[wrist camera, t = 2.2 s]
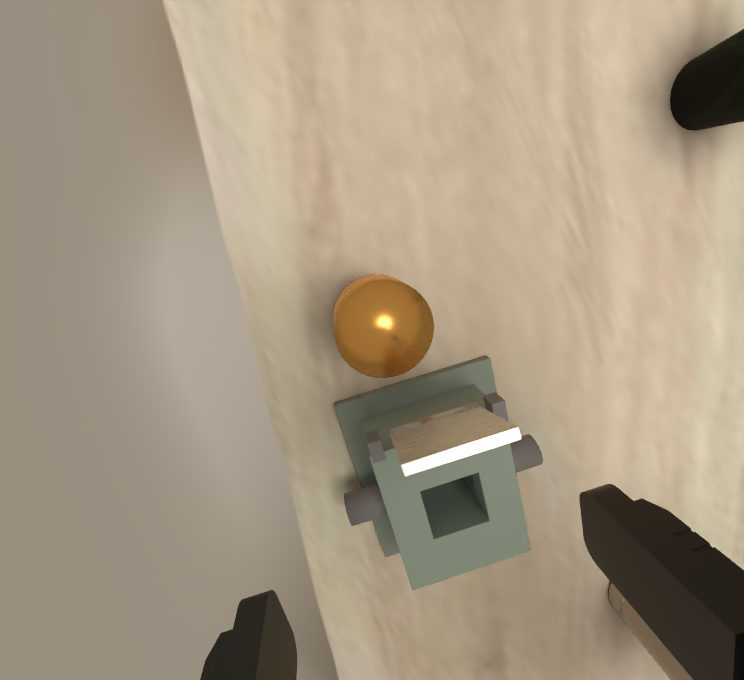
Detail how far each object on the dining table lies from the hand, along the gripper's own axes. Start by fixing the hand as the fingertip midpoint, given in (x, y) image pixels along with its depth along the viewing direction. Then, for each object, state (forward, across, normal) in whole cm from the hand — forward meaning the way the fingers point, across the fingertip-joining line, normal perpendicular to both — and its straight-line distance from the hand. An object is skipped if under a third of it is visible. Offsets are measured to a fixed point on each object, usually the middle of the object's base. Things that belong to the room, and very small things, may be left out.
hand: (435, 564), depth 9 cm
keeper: (+18, -4, +7) cm, 19 cm away
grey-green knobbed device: (+25, -4, +15) cm, 29 cm away
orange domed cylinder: (+25, -2, -2) cm, 25 cm away
